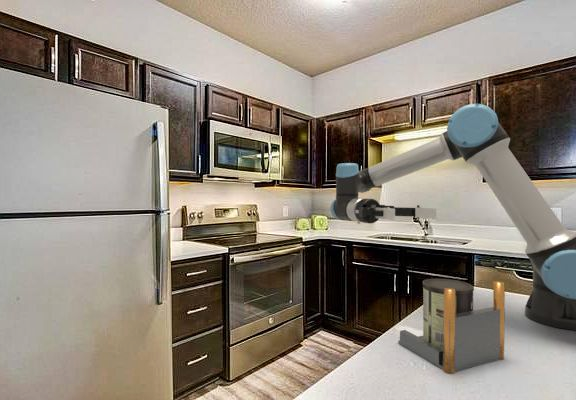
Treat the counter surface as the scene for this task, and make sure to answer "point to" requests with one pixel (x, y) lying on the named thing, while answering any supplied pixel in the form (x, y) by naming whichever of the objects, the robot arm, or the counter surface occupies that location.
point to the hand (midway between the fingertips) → (415, 213)
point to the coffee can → (442, 306)
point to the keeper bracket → (464, 335)
